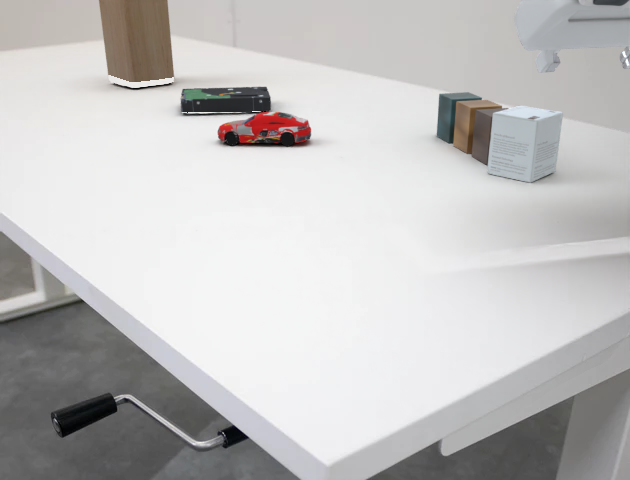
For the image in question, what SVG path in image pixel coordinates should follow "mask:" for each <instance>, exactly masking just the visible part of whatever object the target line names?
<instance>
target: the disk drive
mask: <svg viewBox="0 0 630 480" xmlns="http://www.w3.org/2000/svg"><path fill="white" fill-rule="evenodd" d="M180 95H181V96H180V99H179V100H180V111H181V112H187V113H188V112H252V111H263V112H264V111H266V112H272V101H271V100H272V99H271V98H272V97H271V95H270V92H269V90H268V87H267V86H240V87H239V86H236V87H201V88H200V87H199V88H197V87H194V88H182V89H181V92H180Z"/></svg>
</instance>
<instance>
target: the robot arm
mask: <svg viewBox="0 0 630 480" xmlns="http://www.w3.org/2000/svg"><path fill="white" fill-rule="evenodd" d="M513 17H514V18H513V21H514V22H513V23H514V27H515V31H516V33H517V34H516V35H517V36H518V39H519V42H520V43H521V45H522V47H523V49H524V50H525V51H528V52H530V51H539V53H538V54H537V55H536V57H535V61H534V63H535V67H536V69H537V72H538V73H539V74H544V73H554V72H555V71H556V69H557V68H558V67H559V66H560V64H561V60H560V56H559V55H558V53H560V51H561V50H578V49H582V50H583V49H603V48H624V50H622V52H621V53H620V54H619V61H620V63H622V64H621V67H622V69H624V70H626V69H628V70H629V69H630V0H520V1H519V4H518V5H517V8H516V10H515V12H514V16H513Z"/></svg>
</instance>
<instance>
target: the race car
mask: <svg viewBox="0 0 630 480" xmlns="http://www.w3.org/2000/svg"><path fill="white" fill-rule="evenodd" d="M311 137H312V128H311V126H310V122H309V119H308V118H307V119H306V118H303V117H298V116H297V115H294V114H292V113H287V112H281V111H266V112H264V111H263V112H259V113H255V114H254V115H252V116H250V117H248V118H246V119H239V120H233V121H228V122H225V123H222V124H221V125H219V127H218V130H217V138H218V139H219V140H220V141H222V142H226V144H227V145H229V146H232V147H233V146H236V145H238V144H239V143H241V144H282V145H283V146H285V147H291V146H293V144H294V143H295V144H299V143H303V142H306V141H308V140H310V139H311Z"/></svg>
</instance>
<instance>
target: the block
mask: <svg viewBox="0 0 630 480" xmlns="http://www.w3.org/2000/svg"><path fill="white" fill-rule="evenodd" d="M98 4H99V13H100V20H101V28H102V29H101V30H102V37H103V45H104V52H105V60H106V69H107V76H108V75H111V76H114V77H117V78H120V79H123V80H126V81H129V82H141V81H150V80H159V79H165V78H172V77H174V78H175V73H174V72H175V71H174V70H175V69H174V60H173V59H174V58H173V49H172V47H173V46H172V36H171V27H170V26H171V25H170V13H169V2H168V0H98Z"/></svg>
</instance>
